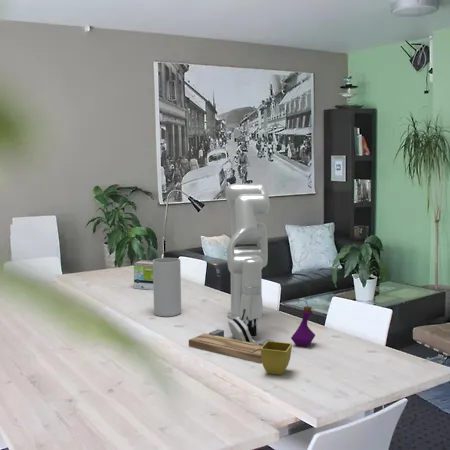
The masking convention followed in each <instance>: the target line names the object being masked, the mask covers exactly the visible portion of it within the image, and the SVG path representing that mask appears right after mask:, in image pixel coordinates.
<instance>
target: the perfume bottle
mask: <svg viewBox="0 0 450 450" xmlns="http://www.w3.org/2000/svg"><path fill="white" fill-rule="evenodd" d="M300 301H303V302H305V304H306V306H304V307H303V310H302V311H301V314H303V317H302V320H301V322H300V323H299V326H298V327H297V328H296V330H295V332H294V333H293V335H292V336H291V337H290V339H291V340H292V341H293V343H294V344H295V346H297V347H303V348H304V347H305V348H308V347H309V346H310V344H312V341H314V338H315V337H316V334H315V333H314V332H313V331H312V330H311V328H309V325H308V320H309V317H310V316H311V315H313V311H312V306H309V304H308V300H307V299H306V298H305V297H302V298H299V299H298V301H297V304H299V303H300Z"/></svg>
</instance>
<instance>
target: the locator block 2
mask: <svg viewBox="0 0 450 450" xmlns="http://www.w3.org/2000/svg"><path fill="white" fill-rule="evenodd" d="M267 341H273V342H275V340H273V339H264V340H263V341H260V342H258V343H257V345H262V346H263V345H264V344H265V343H266V342H267Z"/></svg>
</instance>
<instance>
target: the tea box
mask: <svg viewBox="0 0 450 450" xmlns="http://www.w3.org/2000/svg"><path fill="white" fill-rule="evenodd" d="M133 286H134V287H133V288H134V289H135V290H137V289H141V290H152V291H154V287H153V260H146V259H141V260H139V261H136V262H134V263H133Z"/></svg>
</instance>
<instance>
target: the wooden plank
mask: <svg viewBox="0 0 450 450" xmlns="http://www.w3.org/2000/svg"><path fill="white" fill-rule="evenodd" d="M188 347H190V348H195V349H199V350H204V351H207V352H210V353H211V352H212V353H216V354H220V355H224V356H228V357H233V358H238V359H241V360H246V361H249V362H254V363H259V364H261V363H262V357H261V347H262V345H258V343H257V344H254V343H250V342H245V341H240V340H236V339H235V338H230V337H226V336H224V337H221V336H215V335H210V334H209V333H202V334H200V335H197V336H195V337H193V338H190V339H188Z"/></svg>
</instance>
